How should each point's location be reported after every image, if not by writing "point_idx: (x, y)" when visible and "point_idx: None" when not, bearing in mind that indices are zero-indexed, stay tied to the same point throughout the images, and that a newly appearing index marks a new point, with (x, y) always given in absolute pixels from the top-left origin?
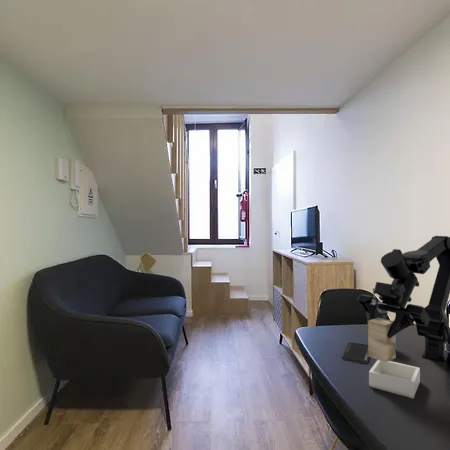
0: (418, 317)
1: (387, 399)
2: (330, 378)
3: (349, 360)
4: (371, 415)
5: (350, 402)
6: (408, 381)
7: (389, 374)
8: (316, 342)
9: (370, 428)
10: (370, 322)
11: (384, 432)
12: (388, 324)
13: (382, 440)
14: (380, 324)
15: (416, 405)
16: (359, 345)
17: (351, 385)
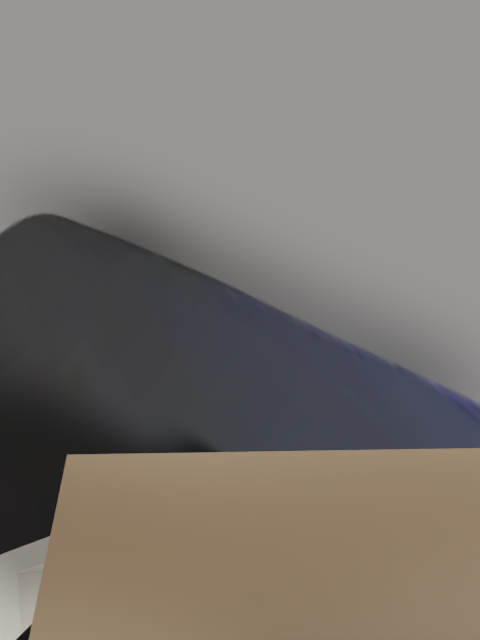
0: None
1: (132, 433)
2: (412, 382)
3: None
4: (122, 286)
5: (217, 295)
6: (26, 546)
7: None
8: None
9: (92, 234)
10: (452, 454)
11: (53, 247)
12: (33, 634)
13: (45, 218)
14: (196, 459)
15: (11, 500)
16: None
17: (311, 408)
